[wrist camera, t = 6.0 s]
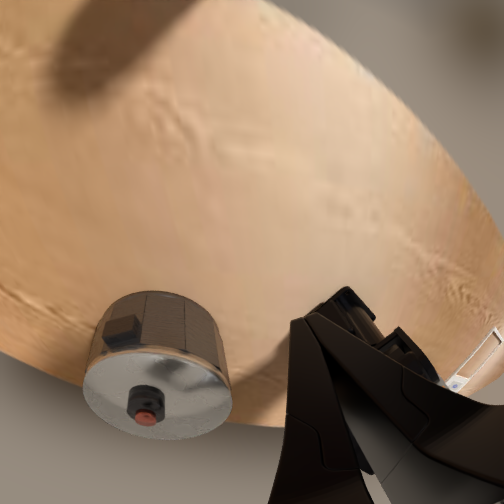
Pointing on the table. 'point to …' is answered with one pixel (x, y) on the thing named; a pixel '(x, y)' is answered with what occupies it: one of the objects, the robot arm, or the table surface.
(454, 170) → the table surface
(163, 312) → the pot
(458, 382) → the photo frame
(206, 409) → the lid
